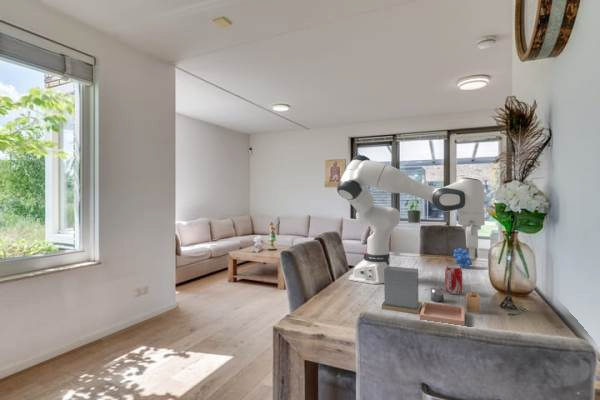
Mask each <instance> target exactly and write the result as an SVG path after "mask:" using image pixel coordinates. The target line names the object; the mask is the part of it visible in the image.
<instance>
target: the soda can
mask: <svg viewBox="0 0 600 400" xmlns="http://www.w3.org/2000/svg"><path fill="white" fill-rule="evenodd" d="M444 276H445V278H444V282H445V291H446V292H447V293H448V294H449V295H461V294H462V293H463V288H464V286H463V284H464V283H463V282H464V281H463V280H464V279H463V270H462V268H461V267H460V265H458V264H456V265H455V264H448V265H446V268H445V269H444Z"/></svg>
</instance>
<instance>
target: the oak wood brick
mask: <svg viewBox="0 0 600 400" xmlns="http://www.w3.org/2000/svg"><path fill="white" fill-rule="evenodd" d="M465 298H466V299H465V301H466V302H465V305H466V311H465V312H466V313H471V314H479V315H480V314H481V296H480V294H479V293H477V292H475V291H469V292H466V294H465Z"/></svg>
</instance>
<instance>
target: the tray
mask: <svg viewBox="0 0 600 400" xmlns="http://www.w3.org/2000/svg"><path fill="white" fill-rule="evenodd" d="M420 320H427V321H434V322H441V323H448V324H454V325H461V326H465V325H466V324H465V323H466V322H465V307H464V306H463V307H462V306H456V305H448V304H443V303H441V304H440V303H435V302H426V301H424V302H423V303H422V308H421V311H420V314H419V321H420Z"/></svg>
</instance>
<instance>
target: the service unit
mask: <svg viewBox="0 0 600 400" xmlns="http://www.w3.org/2000/svg"><path fill="white" fill-rule="evenodd" d="M383 286H384V300H383V302H382V304H381V309H382V310H388V311H395V312H401V313H409V314H413V315H414V314H415V315H420V312H421V310H422V307H423V302H422V301H420V299H419V297H420V296H419V268H412V267H401V266H400V267H399V266H391V265H390V266H387V267H386V268H385V269H384V283H383Z"/></svg>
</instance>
